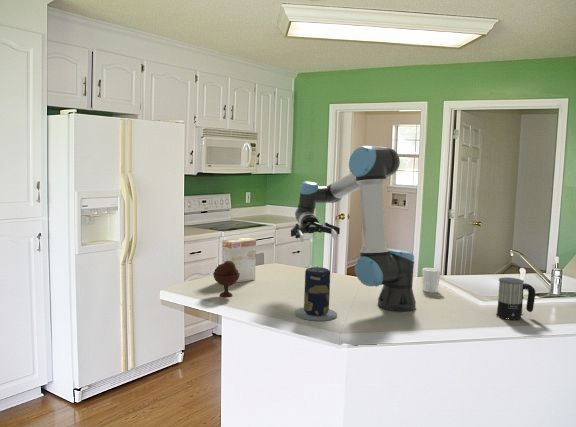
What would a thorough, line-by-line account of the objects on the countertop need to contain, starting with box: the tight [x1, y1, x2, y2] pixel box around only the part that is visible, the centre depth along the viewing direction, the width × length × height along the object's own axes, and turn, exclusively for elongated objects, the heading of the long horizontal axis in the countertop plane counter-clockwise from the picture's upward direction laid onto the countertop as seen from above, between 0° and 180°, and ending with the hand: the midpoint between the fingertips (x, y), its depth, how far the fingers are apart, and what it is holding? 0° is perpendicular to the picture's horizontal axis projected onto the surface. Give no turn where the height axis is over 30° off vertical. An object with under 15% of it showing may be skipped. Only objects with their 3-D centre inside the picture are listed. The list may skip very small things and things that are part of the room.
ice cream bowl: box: [212, 261, 240, 298], centre depth 229 cm, size 11×11×15 cm
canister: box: [303, 266, 331, 315], centre depth 206 cm, size 10×10×18 cm
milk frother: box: [495, 277, 536, 320], centre depth 217 cm, size 14×16×15 cm
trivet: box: [294, 307, 338, 322], centre depth 207 cm, size 16×16×1 cm
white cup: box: [421, 267, 441, 294], centre depth 250 cm, size 8×8×10 cm
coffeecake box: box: [221, 237, 257, 284], centre depth 255 cm, size 15×7×20 cm, turn 130°
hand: (319, 237), depth 215 cm, fingers open, 13 cm apart
